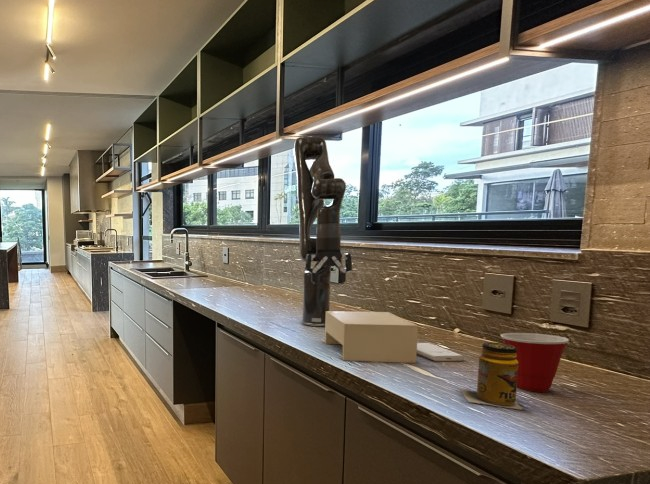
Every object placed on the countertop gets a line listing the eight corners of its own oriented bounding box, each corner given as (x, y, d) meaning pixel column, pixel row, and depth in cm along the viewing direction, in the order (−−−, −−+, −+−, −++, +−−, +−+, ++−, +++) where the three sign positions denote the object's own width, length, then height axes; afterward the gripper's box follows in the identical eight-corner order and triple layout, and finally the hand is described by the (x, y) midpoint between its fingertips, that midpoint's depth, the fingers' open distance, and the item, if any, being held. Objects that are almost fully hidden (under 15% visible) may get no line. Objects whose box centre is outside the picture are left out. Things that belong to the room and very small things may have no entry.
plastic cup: (515, 376, 100) (518, 327, 99) (576, 392, 90) (581, 338, 88) (485, 382, 96) (488, 332, 95) (545, 399, 86) (550, 344, 85)
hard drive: (429, 348, 124) (463, 360, 112) (402, 348, 124) (433, 361, 112) (430, 342, 124) (464, 354, 112) (402, 343, 124) (433, 355, 112)
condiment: (523, 410, 82) (528, 351, 80) (468, 402, 86) (472, 346, 85) (510, 397, 88) (514, 342, 87) (459, 390, 92) (463, 338, 91)
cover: (324, 342, 132) (325, 311, 131) (386, 344, 128) (388, 312, 127) (343, 360, 114) (344, 323, 113) (416, 363, 111) (418, 325, 110)
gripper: (347, 236, 144) (347, 282, 145) (303, 237, 147) (303, 283, 148) (354, 236, 137) (354, 284, 137) (308, 237, 140) (308, 284, 140)
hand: (328, 283), depth 143 cm, fingers open, 8 cm apart
